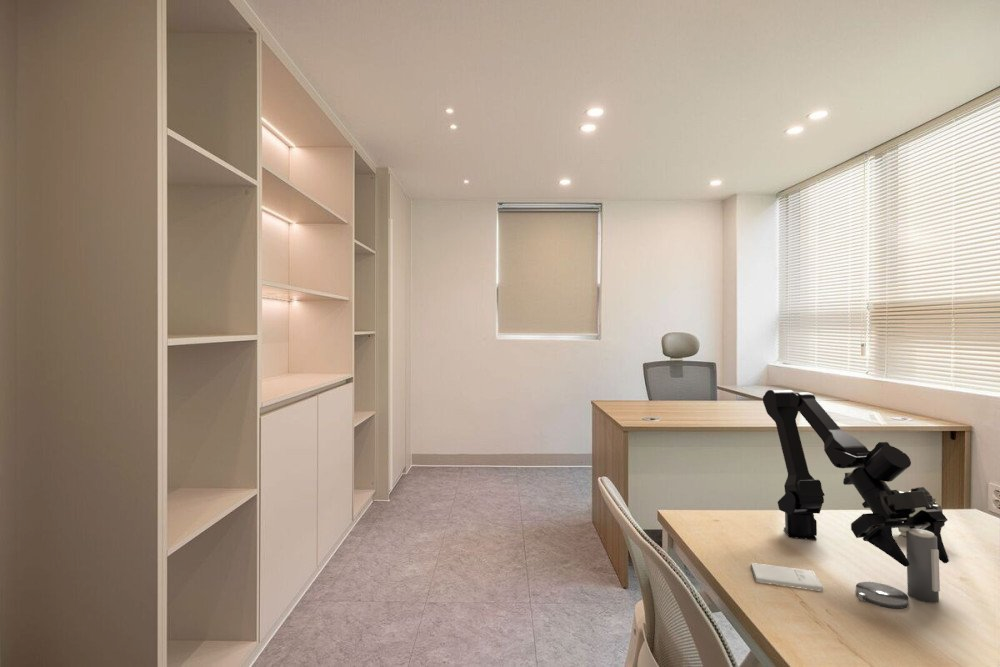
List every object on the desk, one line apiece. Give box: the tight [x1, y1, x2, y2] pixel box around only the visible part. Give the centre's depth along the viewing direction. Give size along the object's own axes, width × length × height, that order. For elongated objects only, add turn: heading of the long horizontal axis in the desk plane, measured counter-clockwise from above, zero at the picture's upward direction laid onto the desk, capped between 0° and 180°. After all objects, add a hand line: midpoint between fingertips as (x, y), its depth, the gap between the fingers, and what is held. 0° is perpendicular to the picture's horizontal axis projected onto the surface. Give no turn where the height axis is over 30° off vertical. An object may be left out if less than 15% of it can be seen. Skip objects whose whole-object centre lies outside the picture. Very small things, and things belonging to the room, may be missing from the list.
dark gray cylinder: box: [905, 528, 941, 604], centre depth 100 cm, size 5×5×13 cm
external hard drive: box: [750, 562, 824, 592], centre depth 108 cm, size 2×8×12 cm
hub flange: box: [855, 581, 910, 610], centre depth 100 cm, size 9×8×1 cm
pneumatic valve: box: [897, 490, 944, 538], centre depth 131 cm, size 6×12×12 cm, turn 32°
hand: (927, 564), depth 99 cm, fingers open, 9 cm apart
